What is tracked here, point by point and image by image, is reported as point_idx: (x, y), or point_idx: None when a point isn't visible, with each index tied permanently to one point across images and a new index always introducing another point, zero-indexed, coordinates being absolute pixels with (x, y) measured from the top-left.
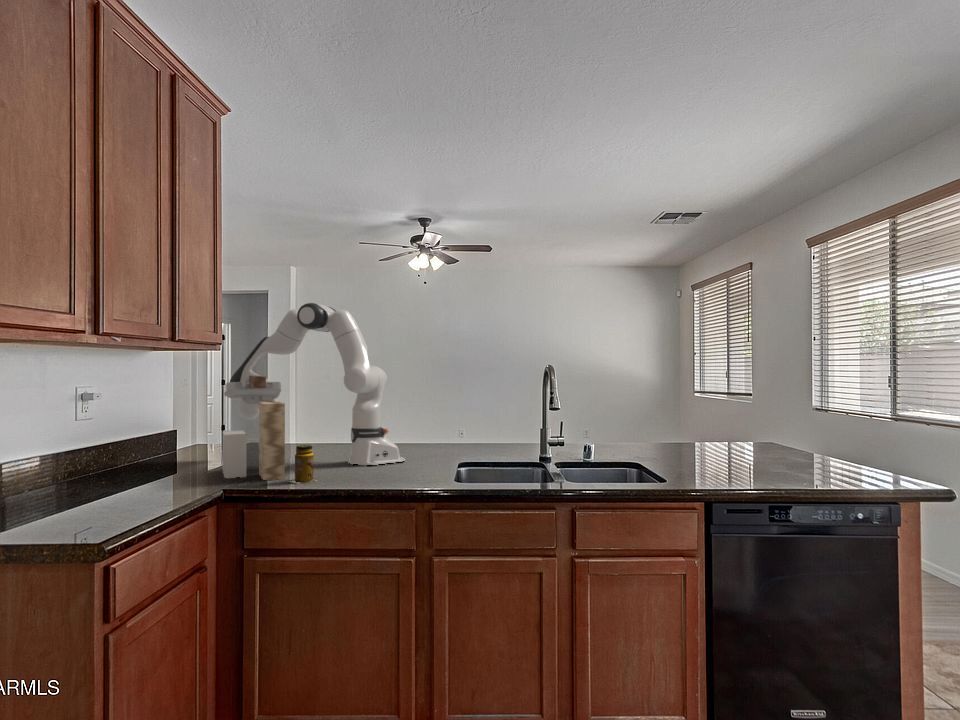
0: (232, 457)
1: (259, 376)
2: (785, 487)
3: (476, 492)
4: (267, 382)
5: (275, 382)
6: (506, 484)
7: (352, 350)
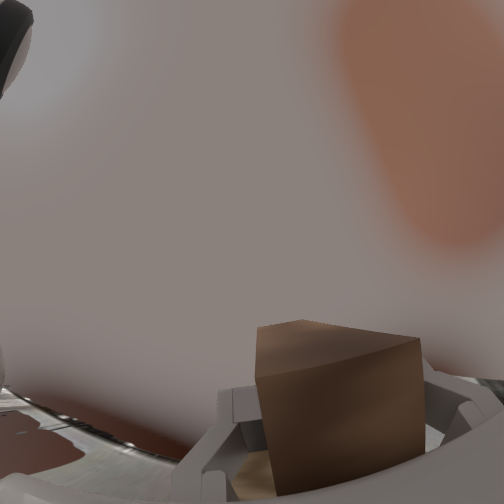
0: None
1: (280, 327)
2: (12, 396)
3: (110, 434)
4: (148, 502)
5: (52, 485)
6: (68, 437)
7: None
